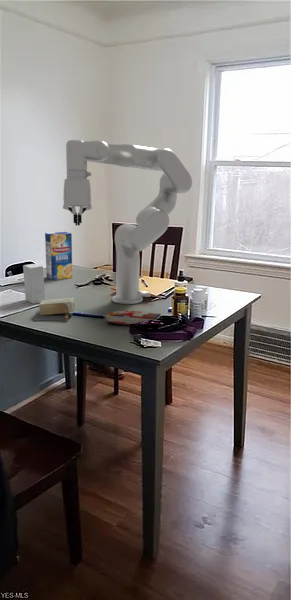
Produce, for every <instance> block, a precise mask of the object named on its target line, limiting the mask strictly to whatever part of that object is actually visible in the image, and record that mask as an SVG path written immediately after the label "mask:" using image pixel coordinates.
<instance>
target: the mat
mask: <svg viewBox="0 0 291 600" xmlns="http://www.w3.org/2000/svg"><path fill="white" fill-rule="evenodd" d="M33 322H65V313H61V314H50V315H41V314H40V309H39V310H37V311H36V314H35V316H34V318H33Z"/></svg>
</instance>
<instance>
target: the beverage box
mask: <svg viewBox="0 0 291 600" xmlns="http://www.w3.org/2000/svg"><path fill="white" fill-rule="evenodd" d="M44 238H45V242H44V243H45V271H46V272H45V276H46V278H47V279H49V280H50V281H56V280H57V281H58V280H64V279H65V280H66V278H67V279H73V244H72V243H73V240H72V239H73V235H72V233H71V232H67V231H57V232H45V233H44Z"/></svg>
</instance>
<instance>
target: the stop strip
mask: <svg viewBox="0 0 291 600" xmlns="http://www.w3.org/2000/svg"><path fill="white" fill-rule="evenodd" d="M69 315H70V313H65V321H64V323H65V322H66V323H67V322H68V321H69V317H70V316H69Z"/></svg>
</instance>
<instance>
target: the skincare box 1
mask: <svg viewBox="0 0 291 600" xmlns="http://www.w3.org/2000/svg"><path fill="white" fill-rule="evenodd" d="M22 269H23V272H22V273H23V280H24V281H23V282H24V284H23V285H24V294H25V295H24V296H25V300H26V301H27V302H29V303H31V304H33V305H34V304H40V303H41V302H42V300H46V292H45V290H46V287H45V277H44V266H43V265H40V264H37V263H30V264H24V265H22Z"/></svg>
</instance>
